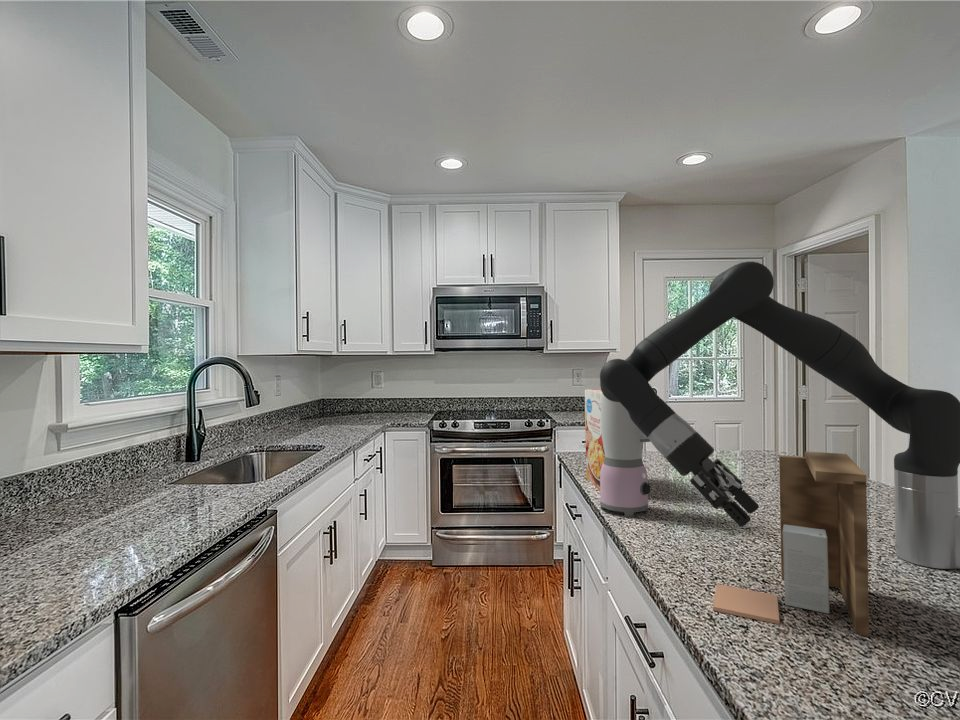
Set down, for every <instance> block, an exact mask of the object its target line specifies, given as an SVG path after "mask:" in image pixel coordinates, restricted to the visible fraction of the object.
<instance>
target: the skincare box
mask: <svg viewBox="0 0 960 720" xmlns="http://www.w3.org/2000/svg"><path fill="white" fill-rule="evenodd" d="M783 556H784V579H783V583H784V585H783V586H784V604H785V605H786V606H788V607H789V606H790V607H795V608H799V609H804V610H807V611H808V610H809V611H813V612H814V611H815V612H819V613H823V614H829V615H830V613H831V612H830V587H829V573H828V538H827V534H826V531H825V530H824V529H815V528H807V527H800V526H793V525H785V524H784V525H783Z"/></svg>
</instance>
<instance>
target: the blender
mask: <svg viewBox="0 0 960 720" xmlns="http://www.w3.org/2000/svg"><path fill="white" fill-rule="evenodd" d="M601 435H602V441H603V447H604V452H605V459H604V463H603V465H602V467H601V471H600V491H599V492H600V499H599V500H600V501H599V502H600V503H599V505H600V509H601V510H604V509H606V510H608V511H613V512H619V513H624V517H626V518H633V517H634V513H638V512H644V513H649V512H648V511H649V501H648V500H649V497H648V496H649V495H650V493H651V491H652V488H651V487H652V486H651V484H650V483H648V482H649V481H648V480H649V479H648V471H647V469H646V466H645V464H644V463H643V450H644V444H645V443H649V442H650V443H652V442H651V441H650V440H649V439H648V437H646V435H645V434H644V433H643V432H642V431H641V430H640V429H639V428H638V427H637V426H636V425H635V424H634V422H633V421H632V420H631V418H630V415H629V413H628V411H627V410H626V408H625V407H624V406H623V405H622V404H621V403H620V402H613V401H610V400H608V399H607V398H606V397H605V396H604V395H602V396H601Z"/></svg>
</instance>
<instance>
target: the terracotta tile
mask: <svg viewBox="0 0 960 720" xmlns="http://www.w3.org/2000/svg"><path fill="white" fill-rule="evenodd" d="M714 592H715V593H714V598H713V605H712V611H713V612H719V613H722V614H723V613H724V614H728V615H732V616H733V615H734V616H738V617H742V618H748V619H753V620H758V621H761V622H762V621H763V622H767V623H770V624H771V623H772V624H776V625H780V612H779V603H778V602H779V601H778V595H777V594H772V593H769V592H764V591H757V590H752V589H748V588H747V589H746V588H742V587H741V588H740V587H736V586H730V585H725V584H719V583H717V584H716V587H715V591H714Z"/></svg>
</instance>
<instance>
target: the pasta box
mask: <svg viewBox="0 0 960 720" xmlns="http://www.w3.org/2000/svg"><path fill="white" fill-rule="evenodd" d="M602 395H603V393H602V391H601V388H600V389H597V388H596V389H584V418H585V419H584V421H585V423H584V425H585V426H584V427H585V428H584V429H585V431H584V432H585V478H586V479H587V480H588V481H589V482H590V483H591V484H592V485H593V486H594V487H595V488H596V489H597V490H598V491H599V492H600V471H601V467H602V465H603V463H604V459H605V452H604V447H603V441H602V435H601V396H602Z"/></svg>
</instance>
